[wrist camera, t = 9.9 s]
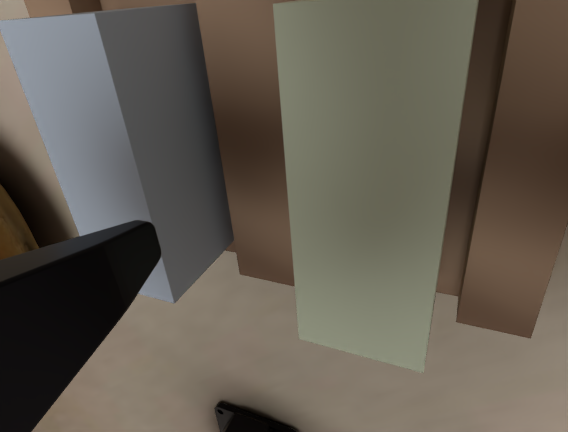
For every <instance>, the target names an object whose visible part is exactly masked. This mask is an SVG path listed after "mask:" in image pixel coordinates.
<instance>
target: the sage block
mask: <svg viewBox="0 0 568 432" xmlns="http://www.w3.org/2000/svg"><path fill="white" fill-rule="evenodd" d="M478 3H479V0H297V1H290V2H283V3H276V4H273V13H274V26H275V39H276V52H277V65H278V77H279V90H280V103H281V116H282V129H283V141H284V154H285V167H286V180H287V193H288V205H289V218H290V231H291V244H292V257H293V269H294V282H295V295H296V308H297V321H298V333H299V339H300V340H304V341H308V342H311V343H315V344H319V345H322V346H326V347H330V348H333V349H337V350H341V351H344V352H348V353H351V354H355V355H359V356H362V357H366V358H370V359H373V360H377V361H381V362H384V363H388V364H392V365H395V366H399V367H403V368H406V369H410V370H414V371H417V372H421V373H423V372H424V366H425V359H426V353H427V346H428V340H429V334H430V327H431V321H432V314H433V308H434V302H435V295H436V289H437V282H438V276H439V269H440V262H441V256H442V249H443V242H444V235H445V228H446V222H447V215H448V208H449V201H450V194H451V187H452V181H453V174H454V167H455V160H456V153H457V146H458V140H459V133H460V126H461V119H462V112H463V105H464V99H465V92H466V85H467V78H468V71H469V64H470V58H471V51H472V44H473V37H474V30H475V23H476V17H477V10H478Z"/></svg>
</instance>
